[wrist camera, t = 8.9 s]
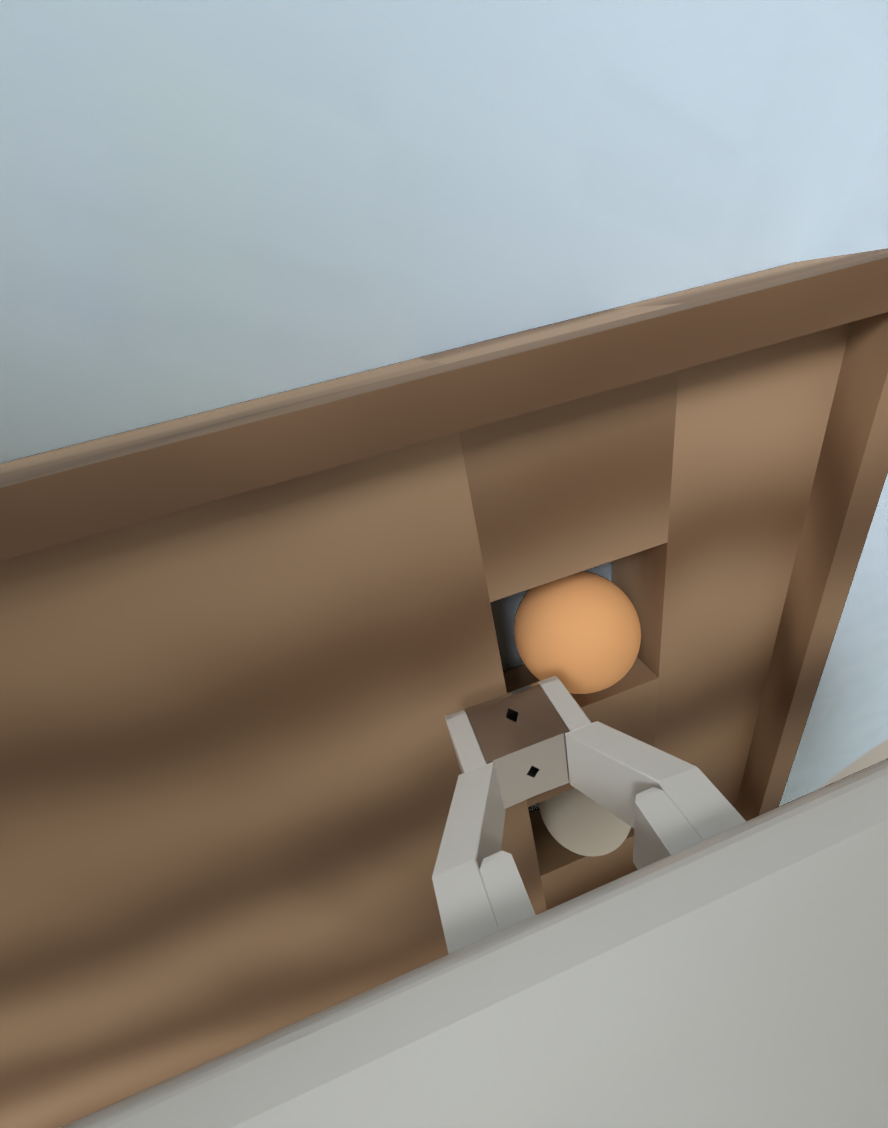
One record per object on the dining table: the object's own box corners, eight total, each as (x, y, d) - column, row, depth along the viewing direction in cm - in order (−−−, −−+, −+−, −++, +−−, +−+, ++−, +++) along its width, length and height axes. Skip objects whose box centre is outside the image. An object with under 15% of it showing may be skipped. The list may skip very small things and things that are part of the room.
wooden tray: (-802, 667, 7) (-1564, 893, 4) (795, 262, 12) (964, 236, 9) (80, 1058, 19) (38, 1190, 16) (705, 790, 24) (762, 856, 21)
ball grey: (519, 754, 18) (562, 840, 15) (598, 722, 18) (656, 800, 15) (528, 803, 20) (568, 890, 17) (599, 774, 20) (652, 853, 17)
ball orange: (674, 592, 11) (592, 537, 14) (542, 639, 10) (488, 571, 13) (667, 694, 13) (596, 625, 16) (554, 739, 12) (503, 659, 15)
